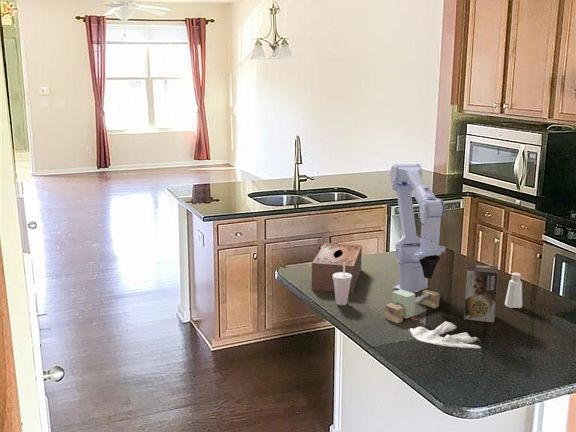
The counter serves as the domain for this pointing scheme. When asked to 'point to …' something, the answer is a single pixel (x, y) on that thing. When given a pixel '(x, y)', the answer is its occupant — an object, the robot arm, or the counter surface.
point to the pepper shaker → (514, 292)
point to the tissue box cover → (335, 265)
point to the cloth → (450, 341)
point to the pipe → (417, 300)
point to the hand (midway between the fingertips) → (427, 277)
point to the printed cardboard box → (481, 293)
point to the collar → (404, 302)
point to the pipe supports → (398, 310)
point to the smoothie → (342, 286)
